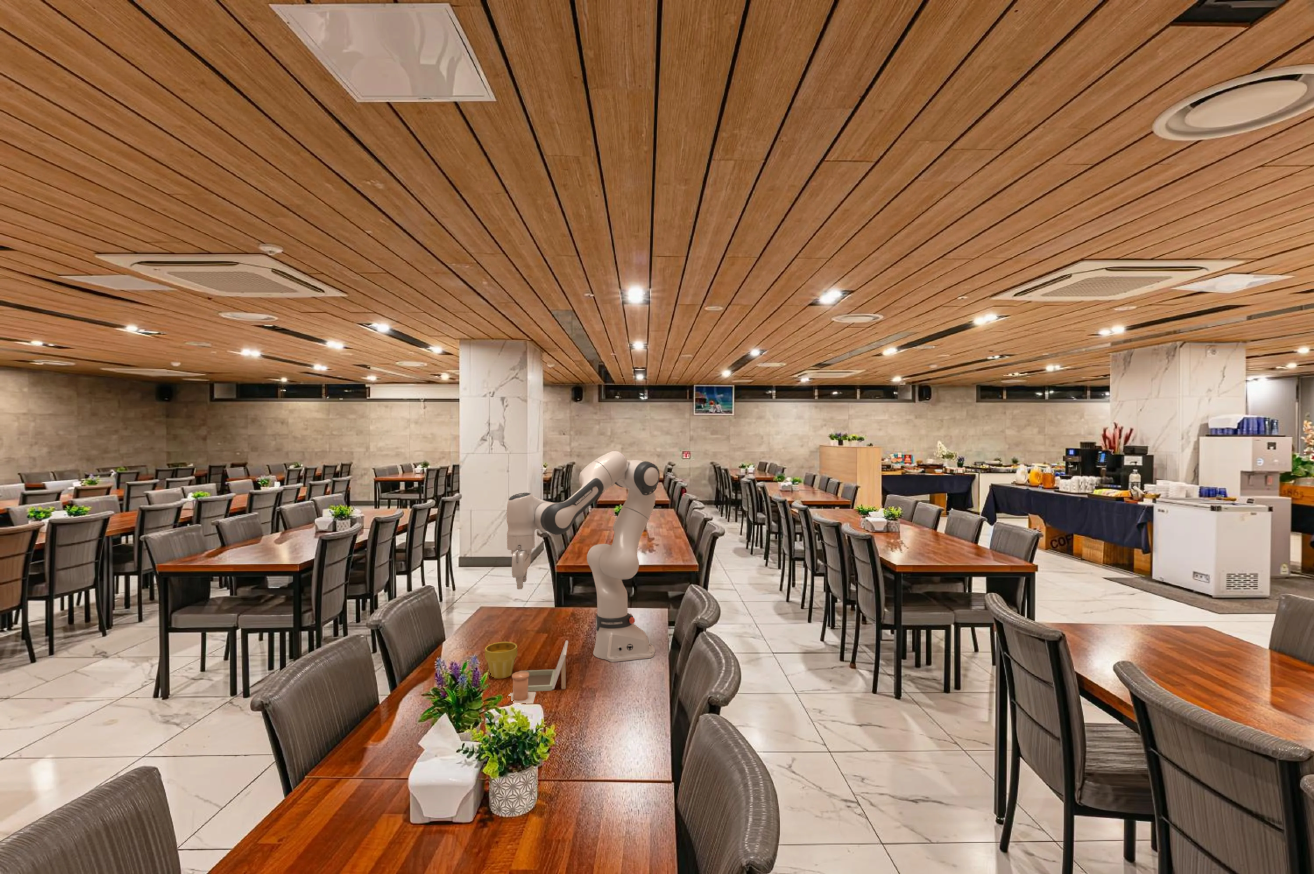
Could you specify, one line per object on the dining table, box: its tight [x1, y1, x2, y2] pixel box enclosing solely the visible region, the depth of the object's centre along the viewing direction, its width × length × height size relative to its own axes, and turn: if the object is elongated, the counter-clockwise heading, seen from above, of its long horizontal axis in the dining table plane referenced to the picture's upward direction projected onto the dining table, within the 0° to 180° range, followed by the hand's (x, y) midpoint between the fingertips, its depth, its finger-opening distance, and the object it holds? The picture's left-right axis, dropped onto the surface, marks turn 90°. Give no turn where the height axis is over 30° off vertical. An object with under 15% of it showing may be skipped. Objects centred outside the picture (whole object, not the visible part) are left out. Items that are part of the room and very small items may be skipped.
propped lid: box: [552, 640, 569, 690], centre depth 194 cm, size 4×14×12 cm, turn 5°
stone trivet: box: [507, 691, 537, 705], centre depth 181 cm, size 8×8×1 cm
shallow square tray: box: [525, 668, 556, 692], centre depth 194 cm, size 12×14×2 cm
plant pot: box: [484, 641, 518, 680], centre depth 201 cm, size 10×10×10 cm
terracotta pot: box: [511, 670, 529, 701], centre depth 182 cm, size 5×5×7 cm
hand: (521, 585), depth 199 cm, fingers open, 8 cm apart
